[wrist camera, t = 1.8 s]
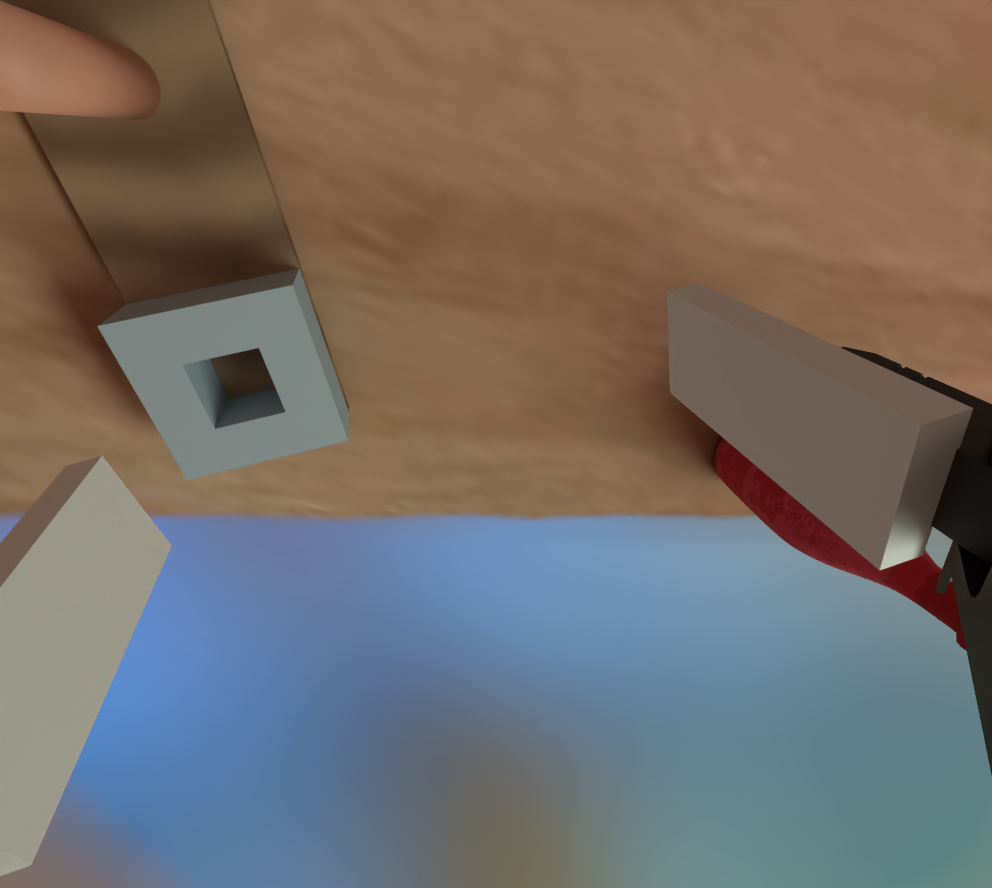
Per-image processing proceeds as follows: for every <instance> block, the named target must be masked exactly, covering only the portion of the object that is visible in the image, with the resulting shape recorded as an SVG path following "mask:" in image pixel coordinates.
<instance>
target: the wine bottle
mask: <svg viewBox="0 0 992 888" xmlns="http://www.w3.org/2000/svg"><path fill="white" fill-rule="evenodd" d="M715 469H716V471H717V474H718V475H719V477H720V478H721V480H722V481H723V482H724V483H725V484H726V485H727V486H728V487H729V488H730V489H731V490H732V492H733V493H734V494H735V495H736V496H737V497H738V498H739V499H740V500H741V501H742V502H743V503H744V504H745V505H746V506H747V507H748V508H749V509H750V510H751V511H752V512H754V513H755V514H756V515H757V516H758V517H759V518H760V519H761V520H762V521H763V522H764V523H765V524H766V525H767V526H768V527H769V528H770V529H772V530H773V531H774V532H775V533H776V534H777V535H778V536H779V537H781V538H782V539H783V540H784V541H786V542H787V543H788V544H790V545H791V546H792V547H794V548H796V549H798V550H799V551H801V552H803V553H804V554H806V555H808V556H810V557H812V558H814V559H816V560H818V561H820V562H823V563H825V564H827V565H830V566H832V567H835V568H837V569H840V570H843V571H846V572H849V573H851V574H854V575H857V576H860V577H863V578H866V579H868V580H871V581H874V582H876V583H879V584H881V585H884V586H886V587H889V588H891V589H893V590H895V591H897V592H899V593H900V594H902V595H904V596H905V597H907V598H909V599H910V600H912V601H913V602H915V603H917V604H918V605H920V606H921V607H922V608H924V609H925V610H926V611H928V612H929V613H931V614H932V615H933V616H935V617H936V618H937V619H939V620H940V621H942V622H943V623H945V624H946V625H947V626H949V627H950V628H951V629H953V630H954V631H955V632H956V634H957V635H956V636H957V642H958V644H959V645H960V646H961V647H962V648H963V649H965V650H966V645H965V640H964V635H963V630H962V625H961V620H960V615H959V610H958V605H957V600H956V595H955V590H954V585H953V581H951V582H949V584H948V587H947V589H946V592H945V594H943V593H937V592H936V587H937V582H938V579H939V576H940V574H941V571H942V569H941V568H940V567H938V566H937V565H936V564H935V562H934V561H933V560H932V559H931V557H930V556H929V555H928V554H927V552H926V551H925V550H924V553H923V556H920V557H917V558H914V559H911V560H908V561H905V562H902V563H900V564H897V565H894V566H891V567H888V568H885V569H882V570H878V569H877V568H876V567H875V566H874V565H873V564H871V563H870V562H869V561H868V560H867V559H865V558H864V557H863V556H862V555H861V554H860V553H858V552H857V551H856V550H855V549H854V548H852V547H851V546H850V545H849V544H848V543H847V542H845V541H844V540H843V539H842V538H841V537H840V536H838V535H837V534H836V533H835V532H834V531H832V530H831V529H830V528H829V527H828V526H827V525H825V524H824V523H823V522H822V521H821V520H819V519H818V518H817V517H816V516H815V515H814V514H812V513H811V512H810V511H809V510H808V509H806V508H805V507H804V506H803V505H802V504H801V503H799V502H798V501H797V500H796V499H795V498H794V497H792V496H791V495H790V494H789V493H788V492H786V491H785V490H784V489H783V488H782V487H781V486H779V485H778V484H777V483H776V482H775V481H773V480H772V479H771V478H770V477H769V476H768V475H766V474H765V473H764V472H763V471H762V470H760V469H759V468H758V467H757V466H756V465H755V464H753V463H752V462H751V461H750V460H749V459H748V458H746V457H745V456H744V455H743V454H742V453H740V452H739V451H738V450H737V449H736V448H735V447H733V446H732V445H731V444H730V443H729V442H727V441H726V440H725V439H724V438H722V439H721V441H720V443H719V445H718V447H717V450H716V453H715ZM966 651H967V650H966Z"/></svg>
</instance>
